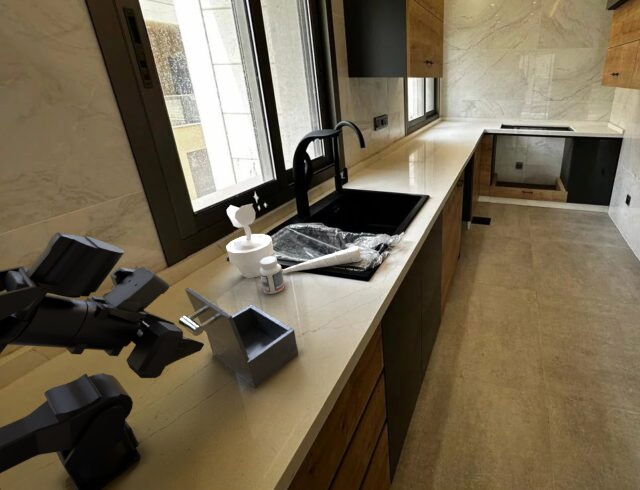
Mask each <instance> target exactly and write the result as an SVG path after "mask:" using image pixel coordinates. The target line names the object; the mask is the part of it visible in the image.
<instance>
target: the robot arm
mask: <svg viewBox="0 0 640 490" xmlns="http://www.w3.org/2000/svg"><path fill="white" fill-rule="evenodd" d="M124 254H125V251H124V250H123V249H122V248H120V247H118V246H115V245H114V244H111V243H108V242H105V241H103V240H100V239H97V238H93V237H91V236H81V235H76V234H66V233H63V232H59V231H58V232H55V233H54V234H53V235H52V237H51V238H50V239H49V240H48V242H47V245H46V247H45V248H44V250H43V251H42V252H41V254H40V255H39V256H38V257H37V258H36V260H35V261H34V262H33V263H32V264H31V266H30V267H29V268H28V267H26V266H25V265H21V266H16V267H11V268H10V267H9V268H6V269H1V270H0V355H1V354H2V353H3V352H4V350H5V349H6V348H7V346H12V345H13V346H26V347H42V348H56V349H57V348H58V349H59V348H60V349H66V350H67V351H68V352H69V353H70V354H71V355H82V354H83V353H84V351H85V350H92V351H103V352H104V353H105V354H107V355H108V356H109V357H119V356H120V353H121V352H122V351H123V349H124V348H126V347H128V346H129V345H130V344H131V343H133V344H134V346H133V348H132V350H131V352H130V353H129V355H128V356H127V358H126V363H127V365H128V368H129V369H131V370H132V372H134V373H135V374H136V376H138V377H139V378H140V379H156V378H159V377H160V376H161V375H162V373H163V372H164V370H165V368H166V367H168V366H169V365H172V364H173V363H175V362H177V361H180V360H182V359H184V358H187V357H189V356H192V355H194V354H196V353H198V352H200V351H202V350H203V347H204V346H205V343H203V342H201V341H198V340H196V339H193V338H189V337H186V336H184V331H183V330H182V329H181V328H180V327H178V326H177V325H175V323H174V322H173V321H170V320H168V319H165V318H163V317H161V316H159V315H156V314H153V313H151V312H149V311H146V310H145V309H147V308H148V307H149V306H150V305H152V304H153V302H155V301H156V300H157V299H158V298H159V297H160V296H162V295H164V294H165V293H166V292H167V291H168V290H169V288H170V284H169V283H168V282H167V281H166V280H164V279H163V278H161V276H160V275H157V274H156V273H155V272H154V271H151V270H150V269H148V268H146V267H144V266H140V267H139V266H137V265H136V266H135V267H134V269H133V268H128V267H127V268H126V267H117V268H116V269H115V266H116V265H117V264H118V262H119V261H120V259H122V257H123V256H124ZM113 269H115V270H114V271H112V270H113ZM108 276H110V279H111V282H112V286H111V287H109V289H110V290H111V291H109V292H106V293H104V294H103V295H102V296H97V295H92V297H89V296H90V295H91V294H93V293H96V292H97V291H98V290H99V288H100V287H101V286H102V284H103V282H104V281H105V280H106V279H107V277H108ZM4 291H5V292H4ZM51 294H52V295H51ZM81 297H83V298H84V297H85V298H86V299H85V300H84V299H83V300H82V299H79V298H81ZM43 394H44V397H45V398H46V400H45V401H44V402H43V403H42V404H40V405H39V406H38V407H37V408H35V409H33V411H31V412H30V413H29V414H27V415H26V416H24V417H21V418H20V419H16V420H14V421H12V422H10V423H8V424H6V425H2V426H1V427H0V474H2V473H4V472H6V471H8V470H10V469H13V468H14V467H17V466H19V465H20V464H23V463H24V462H27V461H29V460H31V459H32V458H35V457H38V456H40V455H41V456H42V455H47V454H53V453H56V455H57V457H58V459H59V461H60V463H61V464H62V466H63V468H64V470H65V471H66V472H67V474H68V476H69V478H70V480H71V482H72V484H73V486H74V488H75V490H102V489H103V488H104V487H106V486H107V485H109V484H110V483H111V482H112V481H114V480H115V479H116V478H117V477H119V476H120V475H122V474H123V473H124V472H126V471H127V470H128V469H129V468H131V467H132V466H133V465H135V464H136V463H138V462H139V461H140V460H141V458H142V456H141V454H140V452H139V451H138V449H137V448H139V445H140V443H139V442H138V440H137V438H136V435H135V433H134V431H133V428H132V426H130V425H129V423H128V422H127V420H126V419H128V417H129V416H130V414H131V412H132V410H133V405H134V402H133V398H132V397H131V396H130V395H129V393H128V392H127V391H126V389H125V387H124V386H123V385H122V384H121V383H120V381H119V380H118V379H117V378H116V377H115V376H114V375H111V374H107V373H104V372H103V373H96V374H92V375H90V376H89V375H88V374H87V373H84V374H83V375H81V376H80V377H78V378H76V379H73V380H72V381H69V382H66V383H64V384H60V385H57V386H53V387H51V388H49V389H47V390H46V391H44V393H43Z"/></svg>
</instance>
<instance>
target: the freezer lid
mask: <svg viewBox="0 0 640 490" xmlns="http://www.w3.org/2000/svg"><path fill="white" fill-rule="evenodd" d="M184 291H185V292H186V296H187V297H188V299H189V302H190V304H191V306H192V308H193V310H194V312H192V313H191V314H189V315H183V316H181V317H180V318H179V320H178V324H179V325H180V326H181V327H183V328H184V329H185V330H186V331H188V332H189V333H191V334H192V335H193V336H194V337H197V336H201V334H202V333H204V332H205V333H206V332H207V333H208V334H209V335H211V336H212V337H213V338H215V339H216V340H217V341H219V342H220V343H221V344H223V345H224V346H225V347H227V348H228V349H229V350H231V351H232V352H233V353H235V354H236V355H237V356H239V357H240V358H241V359H242V360H244V361H245V362H247V361H249V358H248V355H247V353H246V350H245V348H244V345H243V343H242V340H241V338H240V335H239V333H238V330H237V328H236V325H235V323H234V320H233V318H232V316H233V315H231V314H229V313H228V312H226V311H225V310H223V309H222V308H221V307H219V306H217V305H216V304H215V303H213V302H211V301H209V300H208V299H207V298H206V297H203V296H202V295H201V294H199V293H198V292H196V291H195V290H193V289H191V288H190V287H186V288H184ZM195 319H198V321H199V323H198V322H197V321H196V320H195ZM207 333H206V334H207Z"/></svg>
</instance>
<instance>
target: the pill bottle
mask: <svg viewBox="0 0 640 490" xmlns="http://www.w3.org/2000/svg"><path fill="white" fill-rule="evenodd" d="M260 264H261V269H260V276H259V277H260V280H261V285H262V290H263V292H264V293H265V294H269V295H273V294H277V293H279V292H281V291H283V289H284V288H285V281H284V274H283V272H282V270H283V269H282V266H281V264H279V263H278V258H277V257H276V256H272V255H271V256H270V257H266V258H263V259H262V260H261V261H260Z"/></svg>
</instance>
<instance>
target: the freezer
mask: <svg viewBox="0 0 640 490" xmlns="http://www.w3.org/2000/svg"><path fill="white" fill-rule="evenodd" d="M231 316H232V318H233V320H234V323H235V325H236V328H237V330H238V333H239V335H240V338H241V340H242V343H243V345H244V348H245V350H246V353H247V355H248V358H249V361H247V362H245V361H244V360H242V359H241V358H240V357H239V356H237V355H236V354H235V353H233V352H232V351H231V350H229V349H228V348H227V347H225V346H224V345H223V344H221V343H220V342H219V341H217V340H216V339H215V338H213V337H212V336H211V335H209V334H208V333H207V332H205V333H206V336H207V340H208V342H209V346H210V349H211V352H212V355H213V356H214V357H215V358H216V359H218V360H219V361H220V362H221V363H223V364H224V365H225V366H226V367H228V368H229V369H230V370H231V371H232V372H234V373H235V374H236V375H237V376H238V377H240V378H241V379H242V380H244V381H245V382H246V383H248V385H250V386H251V387H252V388H253V389H256V388H258V386H260V385H261V384H263V383H264V382H265V381H267V380H268V379H269V378H270V377H271V376H272V375H273V374H275V373H276V372H278V371H279V370H280V369H281V368H283V367H284V366H285V365H286V364H288V363H289V362H290V361H292V360H293V359H294V358H295V357H296V356H297V355H299V350H298V344H297V339H296V333H295V329H294V328H292V327H290V326H288V325H287V324H286V323H283V322H282V321H280V320H278V319H276V318H275V317H274V316H271V314H268V313H267V312H264V311H263V310H262V309H260V308H259V307H256V306H254V305H253V304H250V305H248V306H246V307H244V308H242V309H241V310H239V311H238V312H236V313H234V314H232V315H231Z"/></svg>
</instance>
